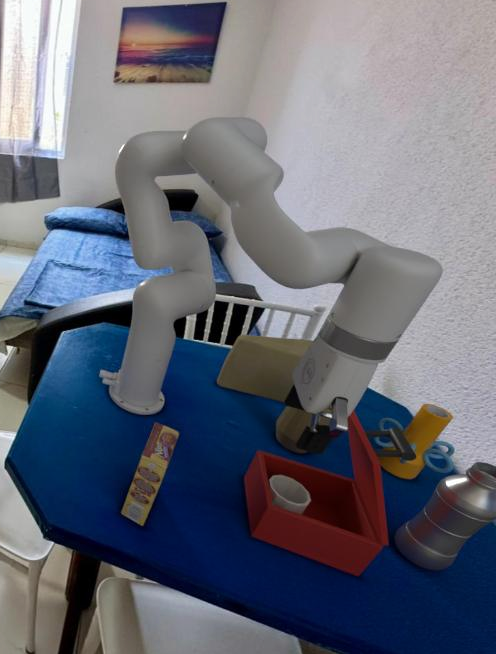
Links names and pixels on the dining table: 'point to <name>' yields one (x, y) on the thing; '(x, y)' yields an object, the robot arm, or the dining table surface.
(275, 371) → the cheese
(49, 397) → the dining table surface
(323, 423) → the squeeze bottle
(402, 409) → the dining table surface
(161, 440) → the candy box
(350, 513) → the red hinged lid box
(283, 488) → the container
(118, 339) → the dining table surface
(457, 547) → the silver metal bottle
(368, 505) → the red box lid
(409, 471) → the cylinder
